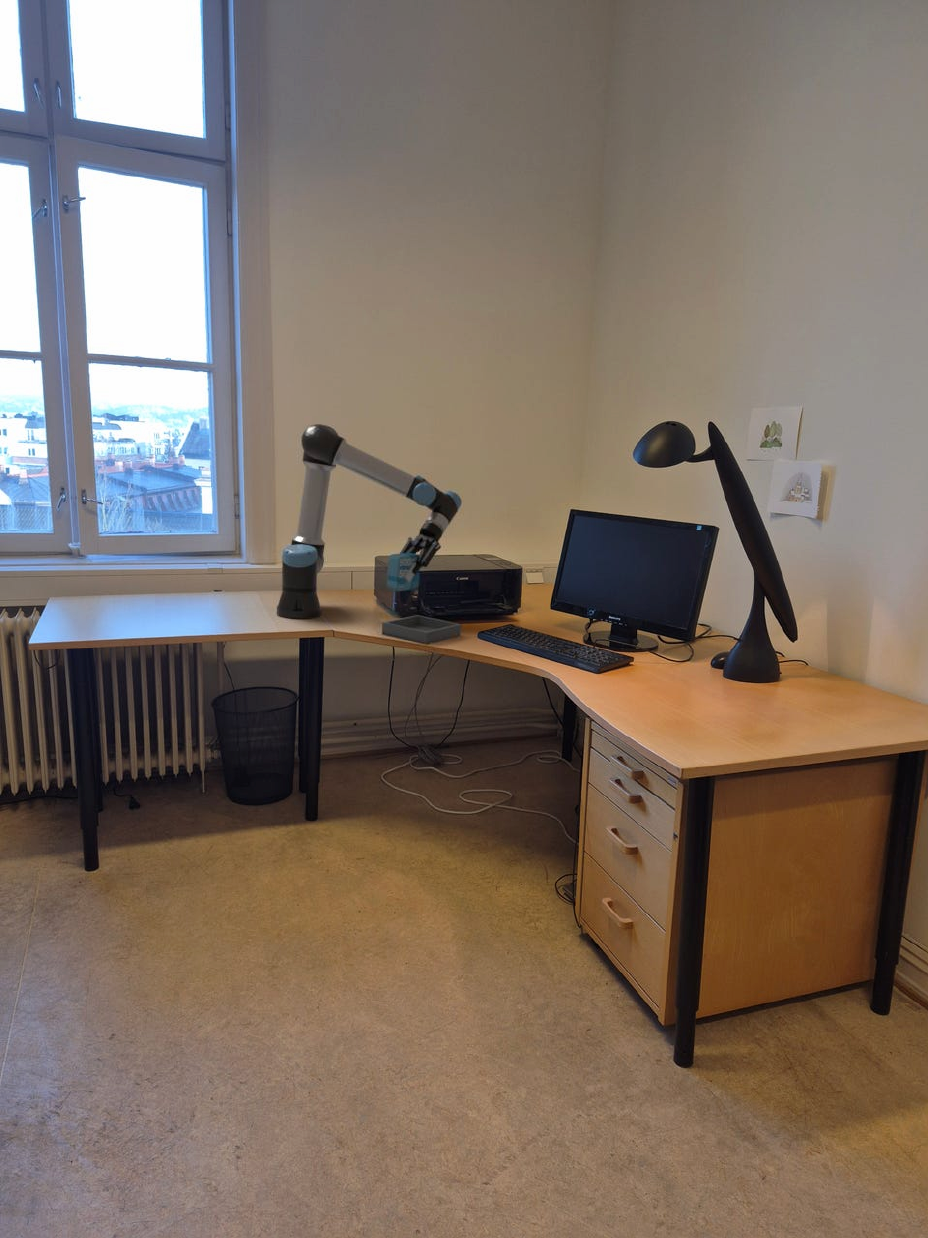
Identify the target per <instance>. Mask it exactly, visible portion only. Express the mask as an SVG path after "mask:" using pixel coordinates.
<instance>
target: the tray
mask: <svg viewBox="0 0 928 1238" xmlns="http://www.w3.org/2000/svg"><path fill="white" fill-rule="evenodd" d="M461 630H462V623H456V622H451V621H449V620H448V621H447V620H442V619H439V618H438V619H437V618H433V617H428V616H424V615H419V614H417V615H411V616H407V617H401V618H398V619H392V620H389V621H383V622H382V623H381V635H384V636H386V637H387V636H389V637H393V638H396V639H400V640H403V641H409V642H413V643H417V644H420V645H421V644H422V645H426V646H427V645H430V644H431V645H432V644H435V643H438V642H442V641H446V640H449V639H453V638H457V637H461V633H462V631H461Z"/></svg>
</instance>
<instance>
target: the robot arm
mask: <svg viewBox="0 0 928 1238" xmlns="http://www.w3.org/2000/svg"><path fill="white" fill-rule="evenodd" d="M300 441H301V446H302V449H303V453H302V463H303V464H304V466H305V473H304V479H303V487H302V496H301V502H300V508H299V509H300V510H299V517H298V525H297V532H296V535H295V536H293V537H292V538H291V544H290V545H286V546H285V547H284V548H283V550H282V555H281V560H282V561H281V570H282V571H281V572H282V576H281V577H282V578H281V579H282V580H281V584H282V585H281V587H282V589H281V594H280V598H279V601H278V604H277V606H276V615H277V616H279V617H282V618H283V617H284V618H289V619H312V618H318V617H320V616H321V615H322V606H321V604H320V601H319V597H318V593H317V592H318V591H317V589H318V586H317V585H318V577H317V576H318V574H320V572H321V570H322V568H323V566H324V564H325V559H324V558H325V557H324V551H325V547H326V546H325V544H326V543H325V541H324V540H323V539H322V535H323V530H324V522H325V516H326V515H325V514H326V508H327V507H326V506H327V499H328V494H329V493H328V492H329V486H330V480H331V473H332V471H333V470H334V469H335V468H336V467H337V465H338V466H341V467H342V468H345V469H347V470H348V471H351V472H353V473H355V474H357V475H359V476H361V477H363V478H366V479H368V480H369V481H372V482H374V483H376V484H378V485H380V486H383V487H384V488H387V489H389V490H390V491H392V492H395V493H396V494H399V495H401V496H402V497H405V498H407V499H408V500H410V501H413V502H414V503H416V504H417V505H419V506H422V507H426V508H428V509H429V510H431V513H430V514H429V516H428V517H427V518H426V520H425V522H424V523H423V525H422V526H421V528H419V533H418V535H416V536H415V538H414V537H413V538H412V537H411V536H409V537H408V538H407V542H406V543H405V544H404V546H403V547H402V549H401V551H400V552H399V554H401V553H413V554H417V553H419V554H418V555H419V557H418V559H417V560H416V561H417V562H416V563H417V564H416V563H413V565H412V566H411V568H410V569H409V571H408V572H407V574H406V575H405V579H406V580H407V582H410V581H411V579H412V578H413V576H414V575H415V574H416V573H417V572H418V571H419V569H421V568H423V567H424V568H427V567H428V566H429V564H430V562H431V561H432V560H433V558H434V557H435V555H436V554H437V552H438V551H439V550H440V549H441V548H442V546H441V544H440V542H439V541H440V539H441V538H442V536H443V534H444V533H445V531H446V529H448V527H449V526H450V524H451V522H452V521H453V519H454V517H455V516H456V514H457V513H458V512H459V509H460V507H461V506H462V498H461V496H460V495H459V494H458V493H456V492H453V491H452V490H446V491H445V492H443V491H441V490H440V489H438V487H436V486H434V485H433V484H432V483H430V482H429V481H428V480H427V479H425V478H424V477H422V476H421V475H418V474H417V475H415V476H414V475H412V474H410V473H408V472H406V471H404V470H402V469H401V468H398V467H395V465H394V466H393V465H392V464H390V463H388V462H386V461H384V460H381V459H379V458H378V457H375V456H373V455H371V454H370V453H368V452H366V451H363V450H361V449H359V448H357V447H355V446H353V445H352V444H349V443H348V442H347V440H346V439H345V438H344V437H342V436H341V435H339V433H338V432H337V431H336V429H334V428H333V427H331V426H329V425H326V424H320V423H317V424H316V423H315V424H312V425H310V426H308V427H307V428H306V429H305V430H304V431H303V433H302V436H301V440H300Z"/></svg>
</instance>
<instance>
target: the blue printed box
mask: <svg viewBox="0 0 928 1238" xmlns="http://www.w3.org/2000/svg"><path fill="white" fill-rule="evenodd" d="M418 557H419V554H417V553H416V554H413V553H401V554H400V553H393V554H390V555H389V556H388V558H387V562H388V563H387V577H386V579H387V580H386V589H388V590H390V591H396V592H403V591H411V590H415V589H418V587H419V585H420V576H421V575H420V573H421V571H420V569H421V568H420V569H419V571H420V573H418V572H419V571H418V572H417V573H416V574H415V575H414V576H413V578H412V579H411V581H410V582H407V580H406V579H405V575H406V574H407V572H408V571H409V569H410V568H411V566H412V565H413V563H416V562H417V561H416V560H417V559H418ZM416 564H417V563H416Z"/></svg>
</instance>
